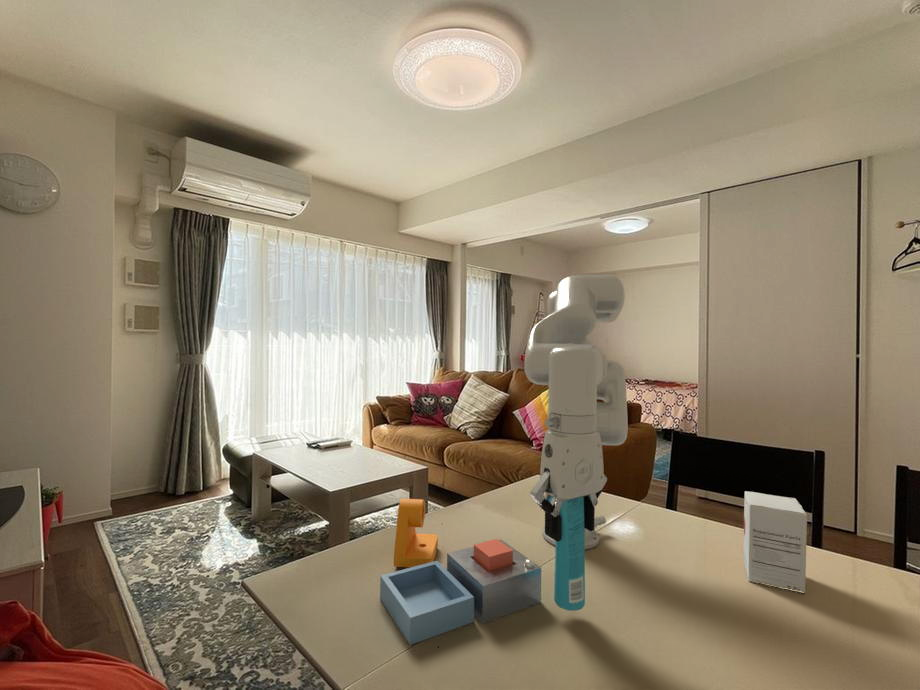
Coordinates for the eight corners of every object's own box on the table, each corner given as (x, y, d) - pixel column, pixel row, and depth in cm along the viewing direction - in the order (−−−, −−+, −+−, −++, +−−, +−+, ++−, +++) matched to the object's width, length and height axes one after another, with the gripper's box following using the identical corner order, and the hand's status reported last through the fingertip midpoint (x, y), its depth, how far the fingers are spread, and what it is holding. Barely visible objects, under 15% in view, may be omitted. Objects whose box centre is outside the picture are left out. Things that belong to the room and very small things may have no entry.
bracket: (430, 573, 83) (431, 511, 83) (393, 570, 84) (394, 509, 84) (438, 547, 94) (439, 492, 94) (405, 544, 94) (406, 490, 94)
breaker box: (500, 569, 84) (501, 534, 84) (540, 602, 74) (541, 561, 74) (446, 585, 78) (447, 547, 78) (482, 623, 68) (483, 579, 68)
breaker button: (496, 576, 80) (496, 538, 80) (512, 590, 75) (513, 550, 75) (473, 583, 77) (473, 544, 77) (488, 598, 73) (489, 556, 73)
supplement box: (742, 561, 90) (743, 489, 90) (795, 572, 86) (797, 497, 86) (746, 582, 82) (748, 503, 82) (806, 595, 78) (808, 513, 78)
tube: (565, 586, 74) (568, 477, 74) (592, 597, 71) (595, 483, 71) (544, 607, 69) (546, 488, 68) (572, 620, 66) (575, 496, 65)
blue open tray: (436, 582, 80) (437, 560, 80) (473, 622, 68) (474, 597, 68) (380, 598, 74) (380, 575, 74) (409, 645, 63) (410, 617, 63)
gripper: (546, 434, 62) (544, 556, 62) (627, 422, 70) (624, 530, 71) (514, 423, 68) (512, 535, 69) (592, 414, 77) (590, 513, 77)
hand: (569, 531), depth 70 cm, fingers closed on tube, 6 cm apart
